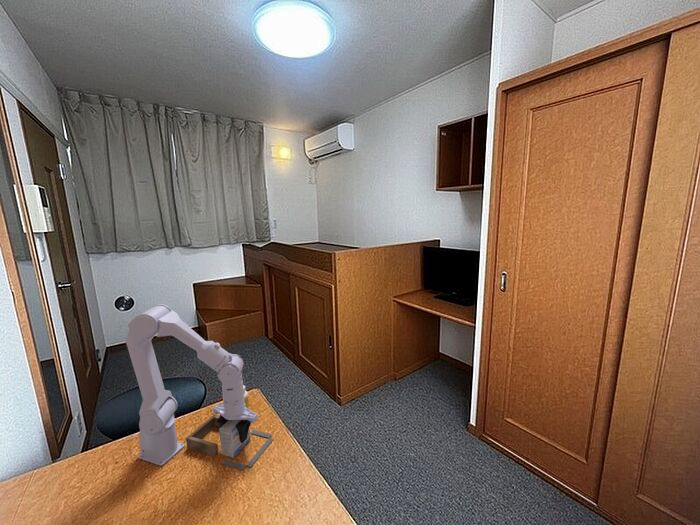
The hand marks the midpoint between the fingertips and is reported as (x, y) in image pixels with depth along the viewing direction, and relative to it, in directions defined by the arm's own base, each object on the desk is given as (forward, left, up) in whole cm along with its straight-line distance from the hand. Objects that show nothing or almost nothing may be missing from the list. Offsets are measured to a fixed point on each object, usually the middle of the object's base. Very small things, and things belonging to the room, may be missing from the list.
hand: (237, 438), depth 91 cm
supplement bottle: (-9, +13, -3) cm, 16 cm away
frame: (+4, 0, -2) cm, 5 cm away
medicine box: (0, 0, -3) cm, 3 cm away
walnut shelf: (-8, 0, -2) cm, 9 cm away
